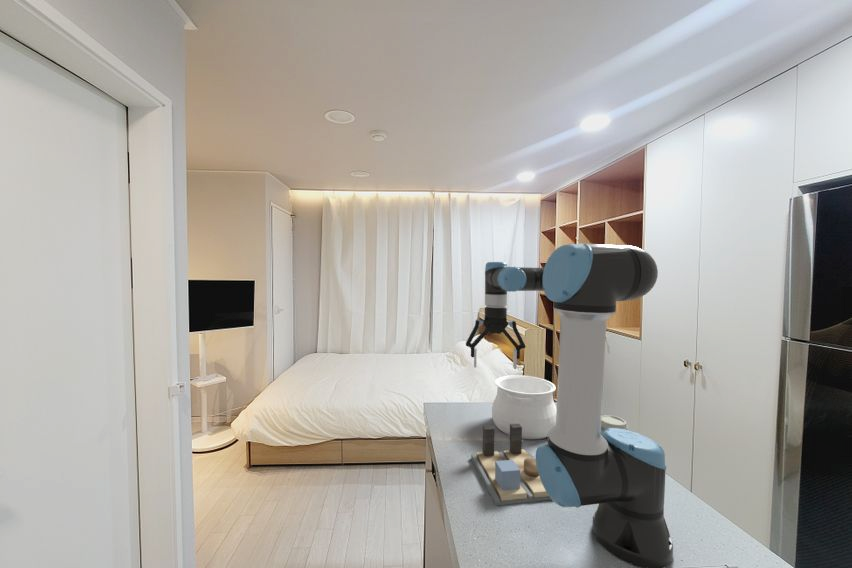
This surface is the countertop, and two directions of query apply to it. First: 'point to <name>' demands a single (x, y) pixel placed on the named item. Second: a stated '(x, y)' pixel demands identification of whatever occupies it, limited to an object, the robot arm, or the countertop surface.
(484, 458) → the strip
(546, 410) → the pot
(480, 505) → the countertop surface
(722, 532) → the countertop surface
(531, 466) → the brown rounded piece
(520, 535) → the countertop surface
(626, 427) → the coffee cup
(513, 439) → the strip
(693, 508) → the countertop surface
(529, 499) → the lane board
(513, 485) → the blue block
